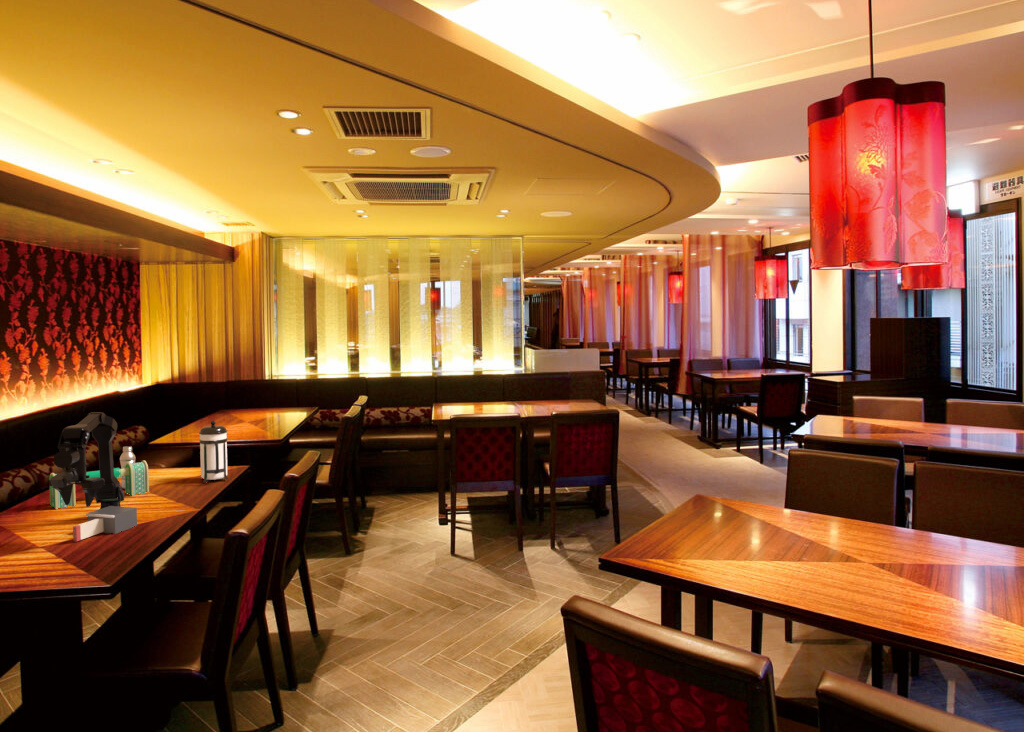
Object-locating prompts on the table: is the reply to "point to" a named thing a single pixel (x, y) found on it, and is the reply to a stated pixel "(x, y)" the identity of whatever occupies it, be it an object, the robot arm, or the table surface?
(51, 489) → the decorative scroll
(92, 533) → the white bar pink end
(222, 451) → the coffee press
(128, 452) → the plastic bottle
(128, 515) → the block
